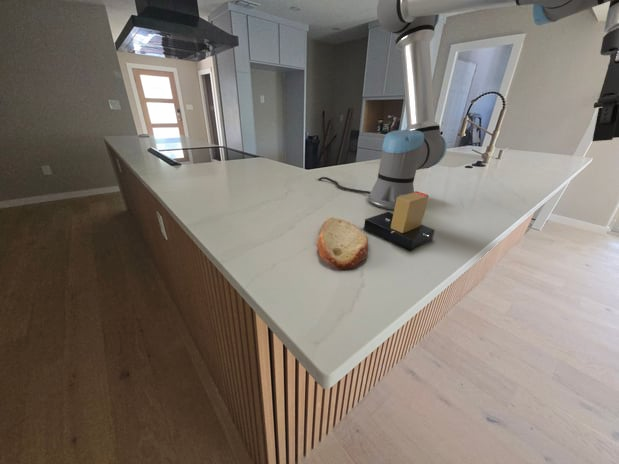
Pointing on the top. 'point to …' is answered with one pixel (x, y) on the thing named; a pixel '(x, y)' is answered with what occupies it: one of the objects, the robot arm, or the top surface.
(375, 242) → the top surface
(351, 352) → the top surface
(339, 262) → the bread slice
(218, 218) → the top surface
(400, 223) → the wooden block
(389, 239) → the black flat block
